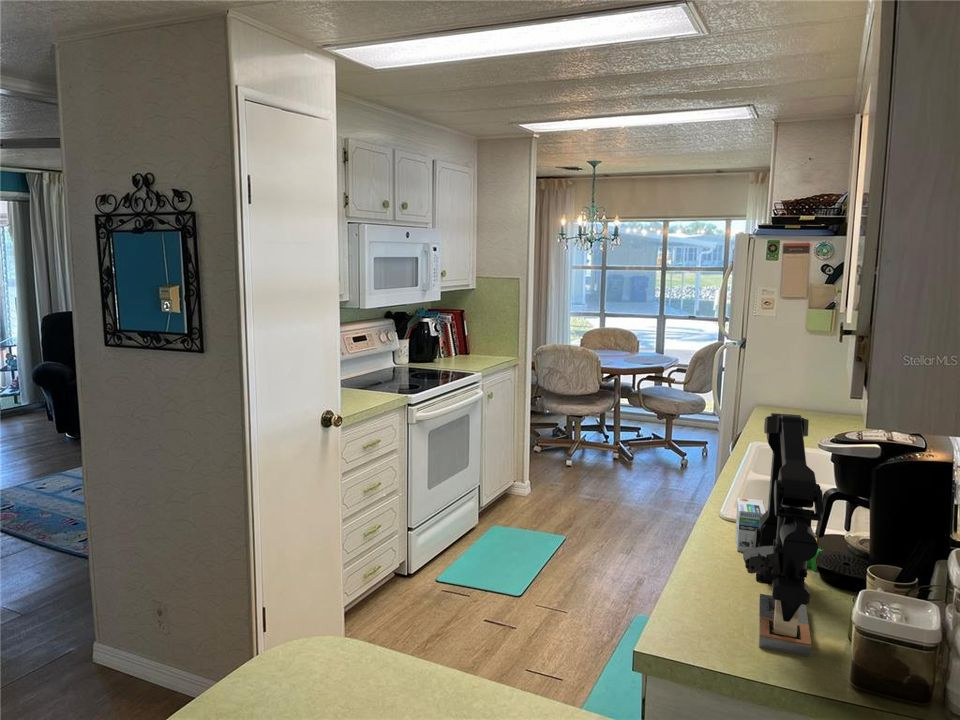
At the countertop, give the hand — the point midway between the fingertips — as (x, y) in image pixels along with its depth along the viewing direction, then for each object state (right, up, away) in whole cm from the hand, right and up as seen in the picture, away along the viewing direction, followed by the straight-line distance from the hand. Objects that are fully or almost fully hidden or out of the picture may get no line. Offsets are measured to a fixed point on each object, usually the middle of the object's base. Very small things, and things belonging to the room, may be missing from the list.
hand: (785, 615), depth 141 cm
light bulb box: (+10, +2, +46) cm, 47 cm away
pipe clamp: (+19, 0, +34) cm, 39 cm away
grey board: (+2, -4, +5) cm, 7 cm away
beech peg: (0, -3, 0) cm, 3 cm away
